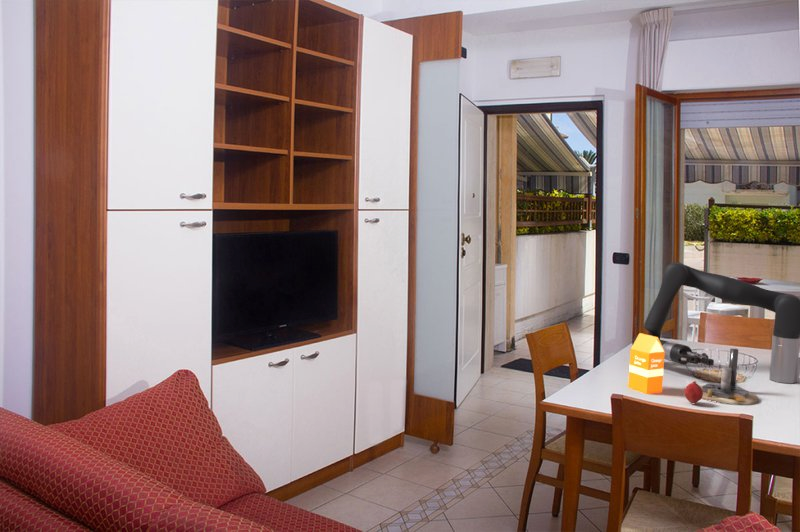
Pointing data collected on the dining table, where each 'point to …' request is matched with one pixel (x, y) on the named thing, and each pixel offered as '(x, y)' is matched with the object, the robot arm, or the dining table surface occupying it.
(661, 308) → the robot arm
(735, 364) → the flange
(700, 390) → the onion
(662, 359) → the orange juice
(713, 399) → the post stand
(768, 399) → the dining table surface
